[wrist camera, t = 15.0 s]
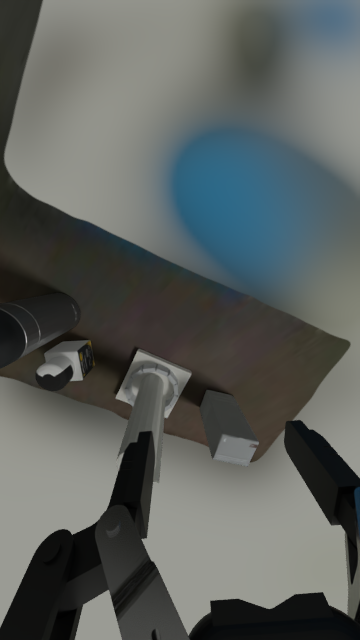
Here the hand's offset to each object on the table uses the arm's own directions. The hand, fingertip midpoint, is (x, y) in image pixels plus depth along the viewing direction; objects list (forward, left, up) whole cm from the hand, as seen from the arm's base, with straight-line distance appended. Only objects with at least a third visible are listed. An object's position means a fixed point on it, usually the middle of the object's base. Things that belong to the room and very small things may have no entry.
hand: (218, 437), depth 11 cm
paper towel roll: (-10, -19, -35) cm, 41 cm away
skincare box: (+7, -26, -36) cm, 45 cm away
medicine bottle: (-28, -9, -36) cm, 47 cm away
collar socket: (-10, -19, -36) cm, 42 cm away
